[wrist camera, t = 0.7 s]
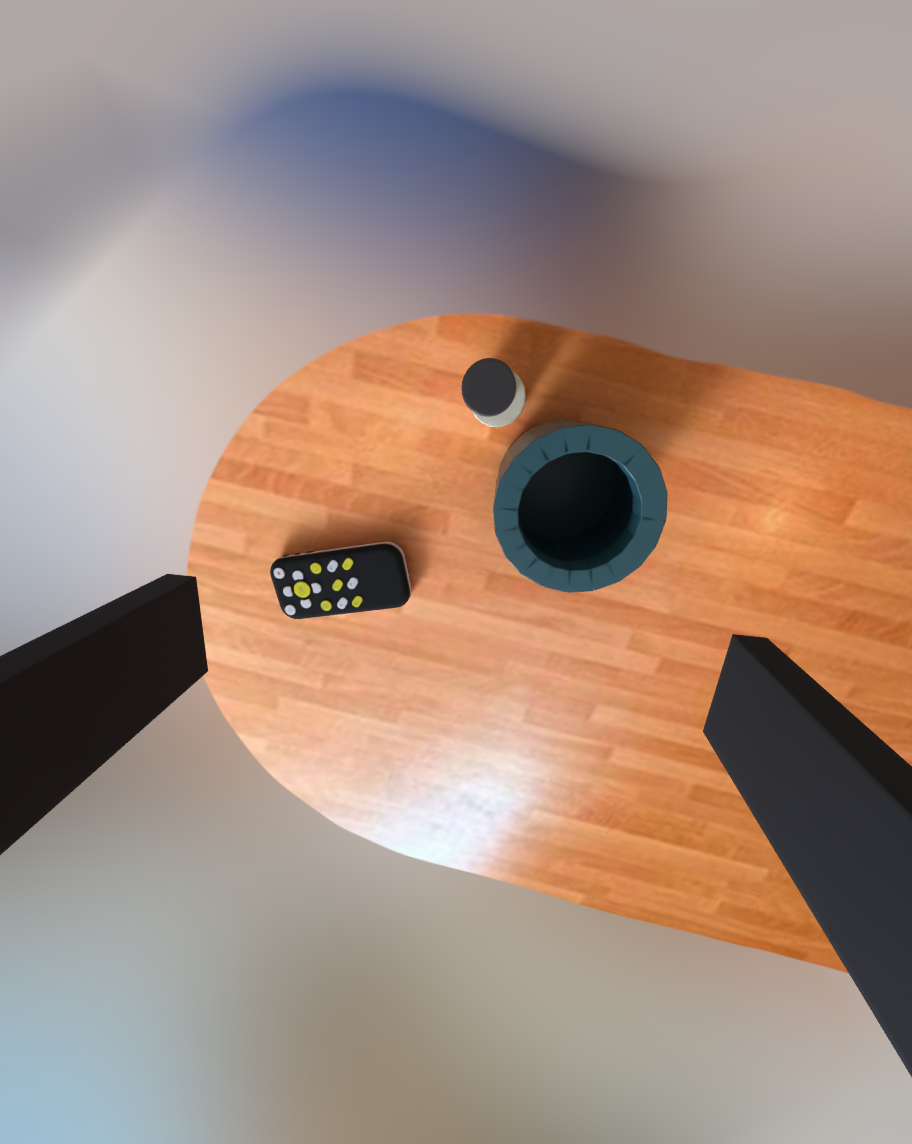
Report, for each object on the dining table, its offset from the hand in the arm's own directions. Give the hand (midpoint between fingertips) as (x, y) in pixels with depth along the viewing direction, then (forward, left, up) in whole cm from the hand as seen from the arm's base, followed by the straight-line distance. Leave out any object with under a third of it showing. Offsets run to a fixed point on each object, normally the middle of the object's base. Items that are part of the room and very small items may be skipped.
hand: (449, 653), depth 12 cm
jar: (-1, +6, -30) cm, 31 cm away
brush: (-6, -1, -30) cm, 31 cm away
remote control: (+12, -11, -30) cm, 34 cm away
